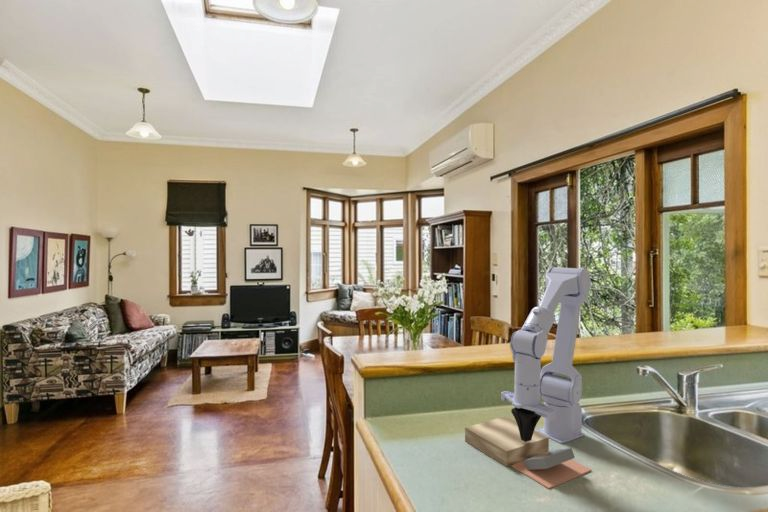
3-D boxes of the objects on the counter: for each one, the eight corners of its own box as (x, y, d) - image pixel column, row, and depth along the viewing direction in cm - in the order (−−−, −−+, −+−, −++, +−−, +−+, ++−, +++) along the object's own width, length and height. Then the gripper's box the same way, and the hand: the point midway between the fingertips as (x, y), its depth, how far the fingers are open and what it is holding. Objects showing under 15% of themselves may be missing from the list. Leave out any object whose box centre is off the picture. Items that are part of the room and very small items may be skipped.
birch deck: (505, 429, 115) (505, 416, 115) (548, 451, 103) (548, 437, 103) (465, 441, 108) (465, 427, 108) (506, 466, 96) (506, 451, 96)
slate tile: (571, 448, 95) (575, 457, 94) (551, 450, 100) (554, 459, 99) (544, 458, 90) (547, 468, 90) (524, 460, 95) (527, 469, 94)
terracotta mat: (553, 451, 103) (553, 450, 103) (591, 470, 95) (591, 469, 95) (511, 466, 96) (511, 465, 96) (548, 489, 88) (548, 487, 88)
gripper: (492, 376, 104) (491, 431, 104) (541, 395, 91) (539, 457, 92) (513, 371, 107) (512, 425, 108) (562, 389, 95) (561, 449, 95)
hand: (526, 439), depth 100 cm, fingers closed
